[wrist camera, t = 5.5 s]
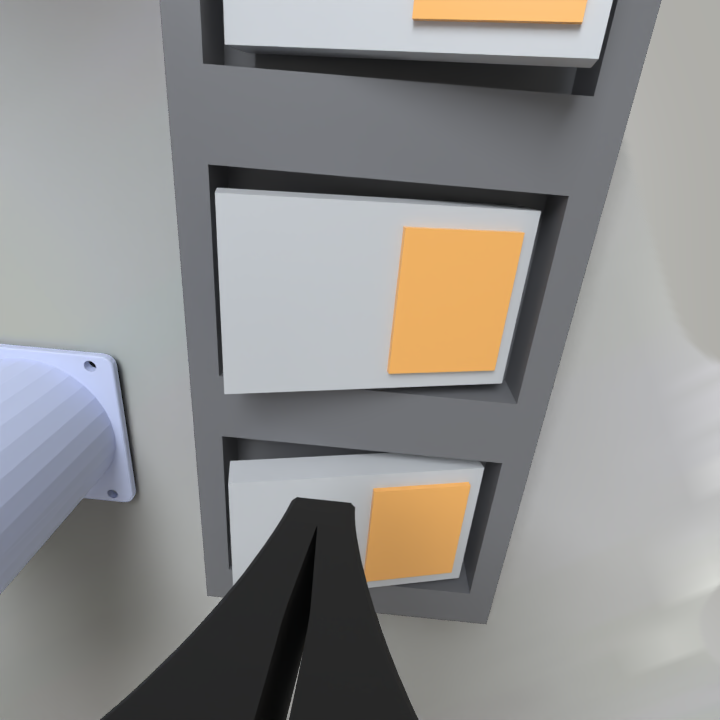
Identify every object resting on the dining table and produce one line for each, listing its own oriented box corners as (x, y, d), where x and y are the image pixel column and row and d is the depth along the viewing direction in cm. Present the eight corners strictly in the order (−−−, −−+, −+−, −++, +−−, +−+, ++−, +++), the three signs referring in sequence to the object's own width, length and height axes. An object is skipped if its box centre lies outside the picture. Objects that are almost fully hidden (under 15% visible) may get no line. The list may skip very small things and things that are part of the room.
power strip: (237, 520, 24) (207, 595, 20) (206, -273, 13) (122, -467, 9) (469, 543, 24) (486, 624, 20) (653, -240, 13) (780, -423, 9)
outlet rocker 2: (235, 576, 19) (233, 607, 18) (230, 461, 16) (228, 487, 15) (448, 555, 21) (460, 581, 19) (471, 448, 18) (486, 471, 17)
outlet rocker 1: (225, 375, 15) (224, 397, 14) (217, 187, 13) (214, 193, 11) (485, 367, 17) (504, 386, 16) (519, 205, 15) (545, 212, 13)
